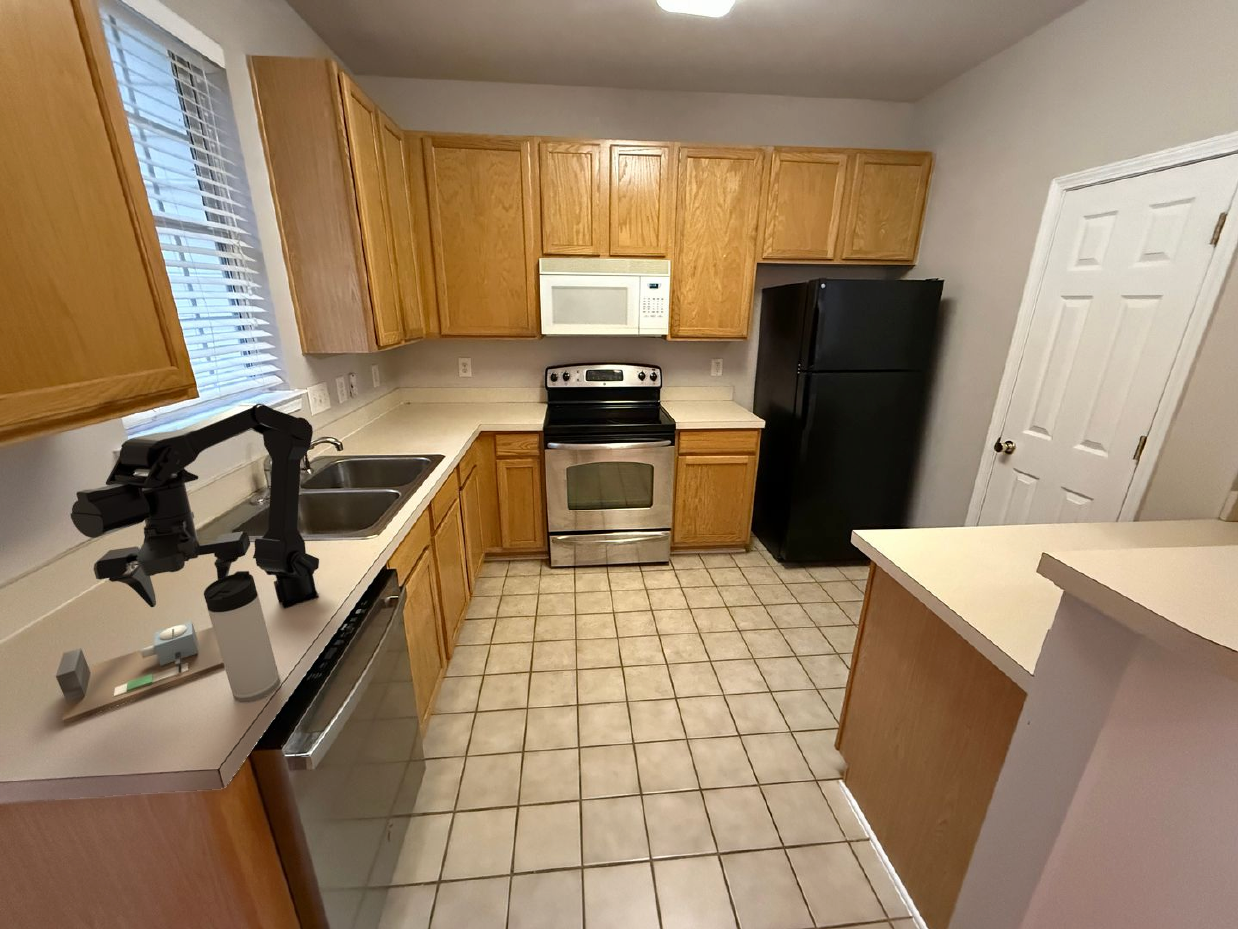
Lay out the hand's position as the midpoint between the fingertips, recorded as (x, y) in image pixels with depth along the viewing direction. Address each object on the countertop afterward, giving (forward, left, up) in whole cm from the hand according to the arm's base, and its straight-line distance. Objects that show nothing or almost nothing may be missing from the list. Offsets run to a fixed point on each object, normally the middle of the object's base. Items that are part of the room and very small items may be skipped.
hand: (189, 599), depth 84 cm
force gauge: (+4, -2, -11) cm, 12 cm away
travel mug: (-6, +14, -13) cm, 20 cm away
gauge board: (+6, -3, -12) cm, 14 cm away
